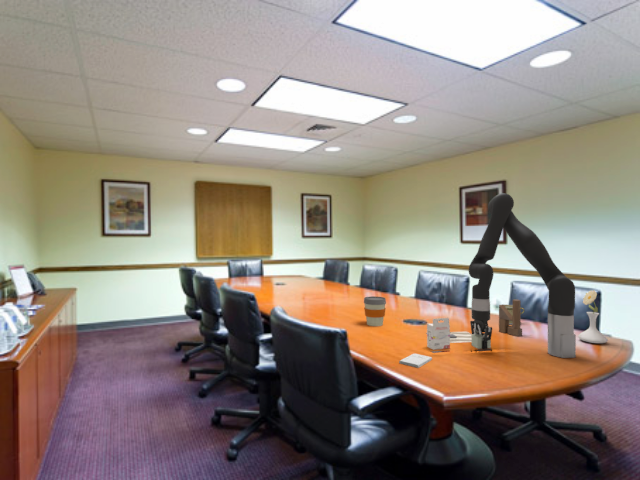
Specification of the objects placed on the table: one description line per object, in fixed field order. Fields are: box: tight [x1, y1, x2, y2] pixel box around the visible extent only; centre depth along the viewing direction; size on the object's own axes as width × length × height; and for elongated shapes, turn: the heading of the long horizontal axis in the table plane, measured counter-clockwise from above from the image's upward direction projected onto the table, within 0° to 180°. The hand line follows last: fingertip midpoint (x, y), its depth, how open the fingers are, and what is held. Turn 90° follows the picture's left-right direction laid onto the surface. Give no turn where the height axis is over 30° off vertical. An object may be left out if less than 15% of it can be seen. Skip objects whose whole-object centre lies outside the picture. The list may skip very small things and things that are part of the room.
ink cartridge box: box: [426, 317, 451, 354], centre depth 161 cm, size 9×5×15 cm, turn 105°
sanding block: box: [471, 333, 492, 352], centre depth 162 cm, size 5×6×6 cm
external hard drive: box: [398, 353, 433, 369], centre depth 147 cm, size 2×8×12 cm
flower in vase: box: [578, 289, 609, 344], centre depth 173 cm, size 13×11×25 cm
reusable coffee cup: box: [363, 296, 387, 327], centre depth 210 cm, size 13×13×15 cm
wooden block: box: [498, 298, 523, 337], centre depth 189 cm, size 4×11×18 cm, turn 28°
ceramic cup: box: [503, 304, 525, 326], centre depth 211 cm, size 13×10×10 cm
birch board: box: [425, 331, 472, 344], centre depth 177 cm, size 18×22×2 cm
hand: (480, 346), depth 162 cm, fingers closed on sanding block, 5 cm apart
